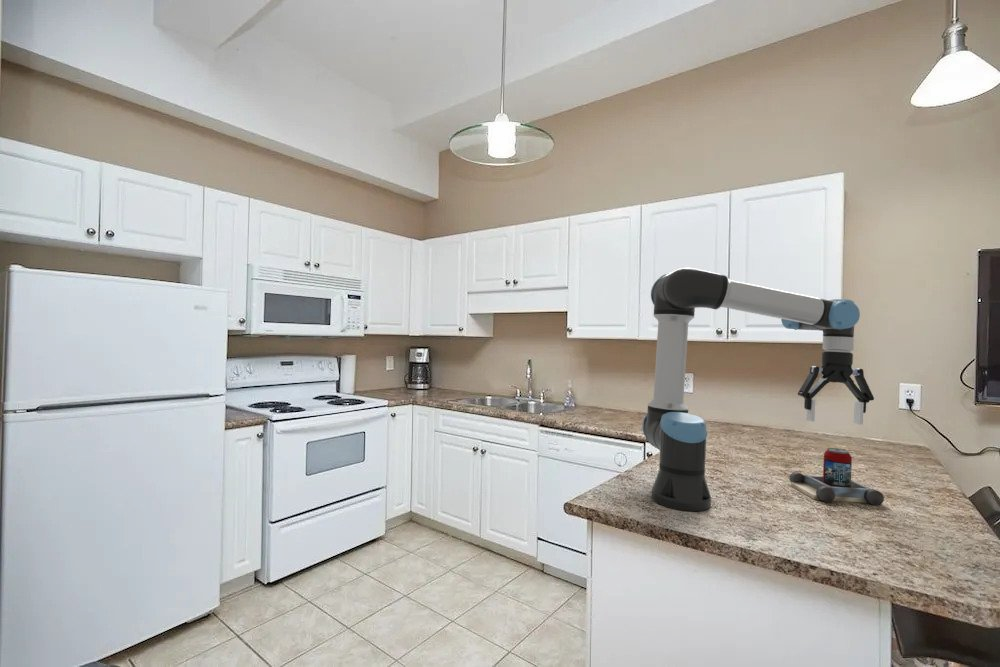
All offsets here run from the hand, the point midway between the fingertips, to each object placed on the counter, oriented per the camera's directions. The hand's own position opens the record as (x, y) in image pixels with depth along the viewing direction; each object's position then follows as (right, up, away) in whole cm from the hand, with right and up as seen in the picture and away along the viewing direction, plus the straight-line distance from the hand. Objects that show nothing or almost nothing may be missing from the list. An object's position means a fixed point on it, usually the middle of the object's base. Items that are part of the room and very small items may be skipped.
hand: (834, 422), depth 140 cm
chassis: (-1, -21, -1) cm, 21 cm away
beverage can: (0, -20, -1) cm, 20 cm away
